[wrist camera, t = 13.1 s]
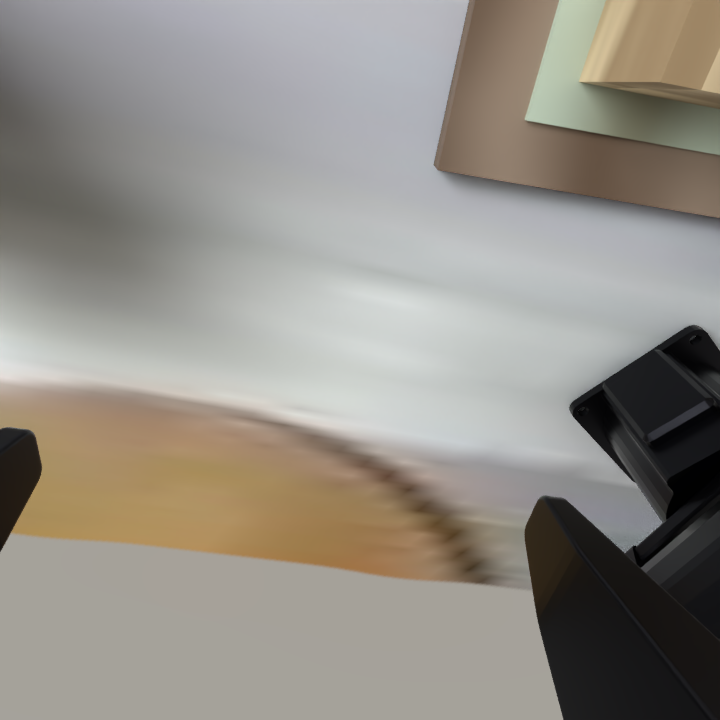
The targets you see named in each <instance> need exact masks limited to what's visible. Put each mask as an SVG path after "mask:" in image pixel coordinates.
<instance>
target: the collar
mask: <svg viewBox="0 0 720 720" xmlns="http://www.w3.org/2000/svg"><path fill="white" fill-rule="evenodd" d="M579 82H582V83H588V84H593V85H598V86H603V87H608V88H613V89H618V90H624V91H629V92H634V93H639V94H644V95H649V96H654V97H660V98H665V99H670V100H675V101H680V102H685V103H690V104H696V105H701V106H706V107H711V108H716V109H720V0H606V2H605V5H604V8H603V11H602V14H601V17H600V20H599V23H598V26H597V29H596V32H595V35H594V38H593V41H592V44H591V47H590V49H589V52H588V55H587V58H586V61H585V64H584V67H583V70H582V73H581V76H580V79H579Z"/></svg>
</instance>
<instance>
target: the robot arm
mask: <svg viewBox="0 0 720 720" xmlns="http://www.w3.org/2000/svg"><path fill="white" fill-rule="evenodd" d="M693 335H696V337H695V338H694V339H693V340H690V338H691V337H692V336H693ZM689 340H690V341H689ZM583 407H585V409H584V410H582V411H578V410H579V409H580V408H583ZM569 410H570V412H571V414H572V415H573V417H574V418H575V419H576V420H577V421H578V423H579V424H580V425H581V426H582V427H583V428H584V429H585V430H586V431H587V432H588V433H589V434H590V436H591V437H592V438H593V439H594V440H595V441H596V442H597V443H598V444H599V445H600V446H601V447H602V449H603V450H604V451H605V452H606V453H607V454H608V455H609V456H610V457H611V458H612V459H613V460H614V461H615V463H616V464H617V465H618V466H619V467H620V468H621V469H622V470H623V471H624V472H625V473H626V474H627V476H628V477H629V478H630V479H631V480H632V481H633V482H635V483H636V484H637V485H638V487H639V488H640V490H641V491H642V493H643V494H644V496H645V497H646V499H647V500H648V502H649V503H650V505H651V506H652V507H653V509H654V510H655V512H656V513H657V515H658V516H659V518H660V519H661V521H662V522H663V523H662V524H661V525H660V526H659V527H658V528H657V529H656V530H655V531H653V532H652V533H651V534H650V535H649V536H648V537H647V538H646V539H644V540H643V541H642V542H641V543H640V544H639V545H638V546H637V547H636V546H633V547H631V548H630V549H629V550H628V551H627V552H626V553H624V552H623V551H622V550H620V549H619V548H618V547H617V546H616V545H615V544H614V543H613V542H612V541H611V540H610V539H608V538H607V537H606V536H605V535H604V534H603V533H602V532H601V531H600V530H599V529H598V528H596V527H595V526H594V525H593V524H592V523H591V522H590V521H589V520H588V519H587V518H586V517H584V516H583V515H582V514H581V513H580V512H579V511H578V510H577V509H576V508H575V507H574V506H572V505H571V504H570V503H569V502H568V501H567V500H566V499H564V498H561V497H553V496H541V497H540V498H539V499H538V501H537V503H536V505H535V507H534V509H533V511H532V514H531V516H530V518H529V520H528V522H527V524H526V528H525V544H526V550H527V557H528V563H529V570H530V576H531V583H532V589H533V595H534V602H535V608H536V613H537V619H538V624H539V628H540V632H541V636H542V640H543V644H544V647H545V651H546V655H547V659H548V663H549V666H550V670H551V674H552V678H553V682H554V685H555V689H556V693H557V697H558V701H559V704H560V708H561V712H562V716H563V720H720V351H719V349H718V348H717V346H716V345H715V343H714V342H713V341H712V339H711V338H710V336H709V335H708V333H707V332H706V331H704V330H703V329H702V328H700V327H699V326H696V325H692V326H688V327H686V328H684V329H683V330H681V331H680V332H678V333H677V334H675V335H674V336H672V337H670V338H669V339H667V340H666V341H664V342H663V343H661V344H660V345H658V346H657V347H655V348H654V349H652V350H651V351H649V352H648V353H646V354H645V355H643V356H641V357H640V358H638V359H637V360H635V361H634V362H632V363H631V364H629V365H628V366H626V367H625V368H623V369H622V370H620V371H619V372H617V373H616V374H614V375H613V376H611V377H609V378H608V379H606V380H605V381H603V382H602V383H600V384H599V385H597V386H596V387H594V388H593V389H591V390H590V391H588V392H587V393H585V394H584V395H582V396H580V397H579V398H577V399H576V400H574V401H573V402H572V403H571V405H570V408H569ZM41 471H42V464H41V459H40V455H39V450H38V446H37V441H36V437H35V434H34V433H33V432H32V431H30V430H28V429H20V428H12V427H6V428H2V429H0V551H1V550H2V548H3V546H4V544H5V542H6V541H7V539H8V537H9V535H10V533H11V531H12V529H13V528H14V526H15V524H16V522H17V520H18V518H19V516H20V515H21V513H22V511H23V509H24V507H25V505H26V503H27V501H28V500H29V498H30V496H31V494H32V492H33V490H34V488H35V486H36V485H37V483H38V481H39V479H40V476H41Z"/></svg>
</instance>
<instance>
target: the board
mask: <svg viewBox="0 0 720 720" xmlns="http://www.w3.org/2000/svg"><path fill="white" fill-rule="evenodd" d="M605 2H606V0H469V5H468V9H467V14H466V19H465V23H464V28H463V32H462V37H461V42H460V46H459V51H458V55H457V60H456V65H455V69H454V74H453V78H452V83H451V88H450V92H449V97H448V101H447V106H446V111H445V115H444V120H443V124H442V129H441V134H440V138H439V143H438V147H437V152H436V157H435V161H434V166H435V167H436V168H437V170H441V171H446V172H452V173H458V174H464V175H470V176H476V177H482V178H488V179H493V180H499V181H505V182H511V183H517V184H523V185H529V186H535V187H540V188H546V189H552V190H558V191H564V192H570V193H576V194H582V195H587V196H593V197H599V198H605V199H611V200H617V201H623V202H628V203H634V204H640V205H646V206H652V207H658V208H664V209H670V210H675V211H681V212H687V213H693V214H699V215H705V216H711V217H717V218H720V109H716V108H711V107H706V106H701V105H696V104H690V103H685V102H680V101H675V100H670V99H665V98H660V97H654V96H649V95H644V94H639V93H634V92H629V91H624V90H618V89H613V88H608V87H603V86H598V85H593V84H588V83H582V82H579V79H580V76H581V73H582V70H583V67H584V64H585V61H586V58H587V55H588V52H589V49H590V47H591V44H592V41H593V38H594V35H595V32H596V29H597V26H598V23H599V20H600V17H601V14H602V11H603V8H604V5H605Z"/></svg>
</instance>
